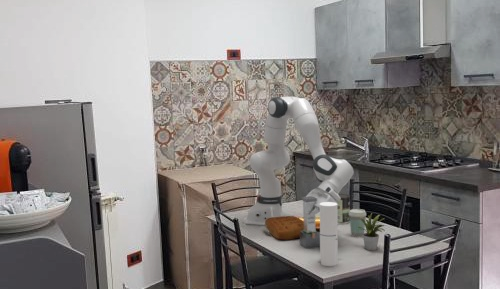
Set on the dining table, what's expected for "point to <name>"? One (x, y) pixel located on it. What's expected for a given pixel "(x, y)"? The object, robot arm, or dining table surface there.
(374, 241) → the house plant
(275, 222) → the cuneiform tablet
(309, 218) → the column
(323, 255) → the cylindrical container
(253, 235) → the dining table surface
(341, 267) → the dining table surface
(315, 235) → the stand base
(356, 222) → the coffee cup
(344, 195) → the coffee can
